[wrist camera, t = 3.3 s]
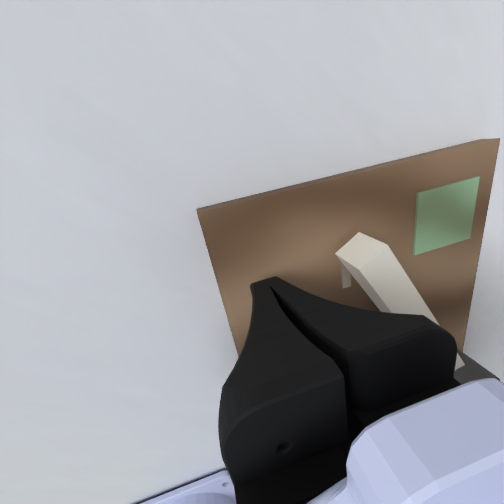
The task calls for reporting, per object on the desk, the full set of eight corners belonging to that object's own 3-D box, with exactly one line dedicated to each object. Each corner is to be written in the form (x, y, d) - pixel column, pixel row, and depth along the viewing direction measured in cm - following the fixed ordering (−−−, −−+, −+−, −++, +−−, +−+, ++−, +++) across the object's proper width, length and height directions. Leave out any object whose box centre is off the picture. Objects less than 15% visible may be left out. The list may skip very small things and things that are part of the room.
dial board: (445, 371, 21) (458, 382, 20) (263, 441, 19) (268, 458, 18) (480, 139, 14) (502, 138, 13) (196, 209, 12) (197, 214, 11)
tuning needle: (458, 356, 18) (506, 391, 16) (424, 384, 19) (465, 423, 16) (371, 220, 13) (421, 238, 10) (322, 264, 13) (359, 293, 10)
